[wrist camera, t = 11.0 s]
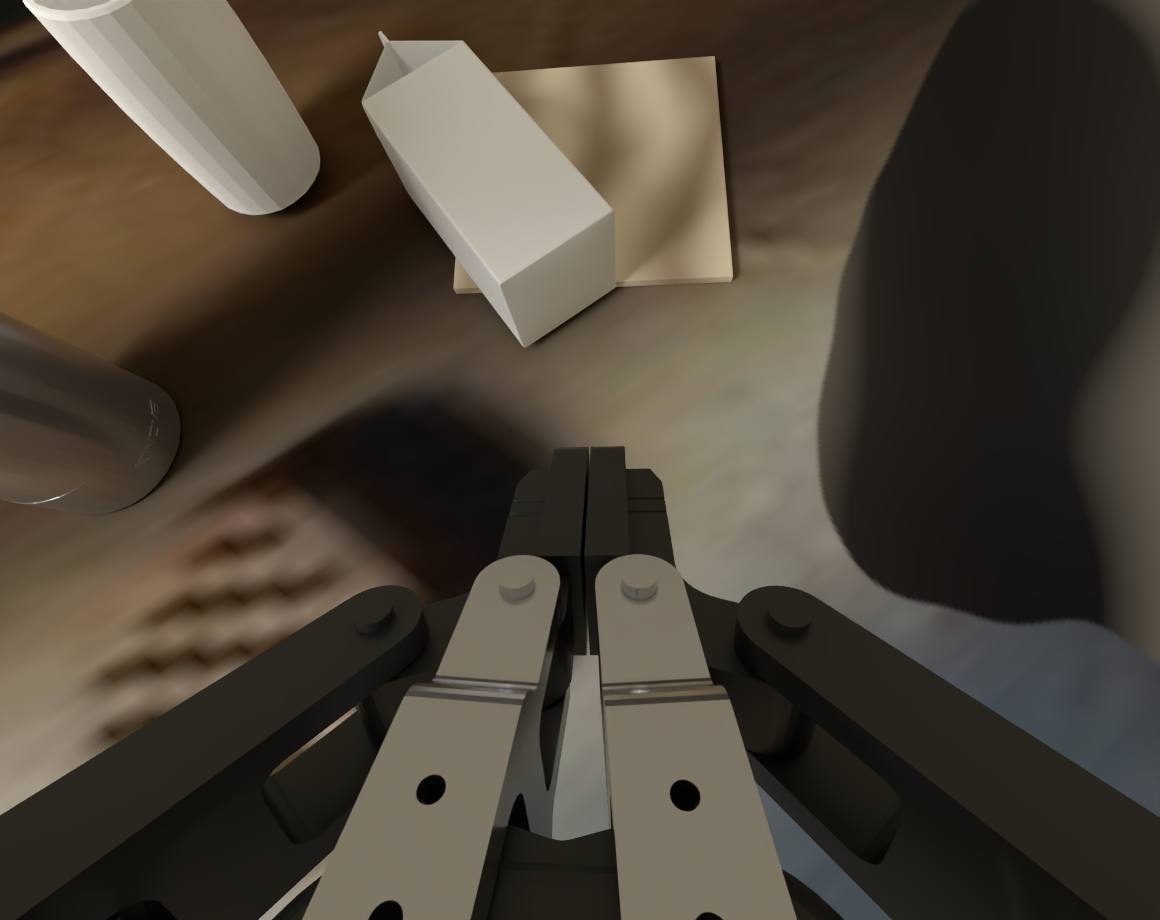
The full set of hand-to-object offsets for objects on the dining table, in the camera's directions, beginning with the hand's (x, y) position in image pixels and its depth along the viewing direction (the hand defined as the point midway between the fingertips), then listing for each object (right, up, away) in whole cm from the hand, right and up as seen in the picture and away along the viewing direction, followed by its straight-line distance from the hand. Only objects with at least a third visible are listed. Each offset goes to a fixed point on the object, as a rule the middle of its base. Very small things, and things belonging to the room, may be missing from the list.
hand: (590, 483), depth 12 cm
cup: (-22, +21, +28) cm, 41 cm away
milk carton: (-1, +10, +18) cm, 21 cm away
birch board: (0, +20, +25) cm, 33 cm away
